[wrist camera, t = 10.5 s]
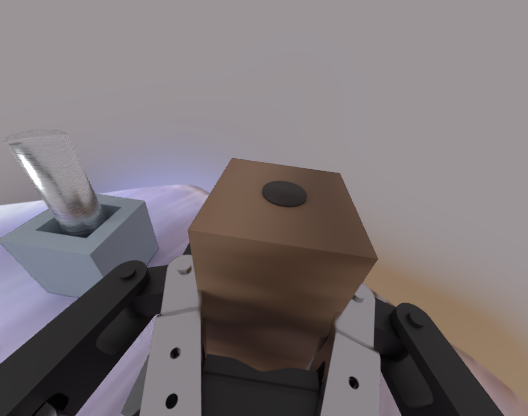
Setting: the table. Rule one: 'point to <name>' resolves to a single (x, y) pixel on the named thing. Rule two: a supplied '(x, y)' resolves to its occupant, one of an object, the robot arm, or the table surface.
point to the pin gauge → (58, 179)
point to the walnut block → (276, 261)
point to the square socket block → (83, 246)
